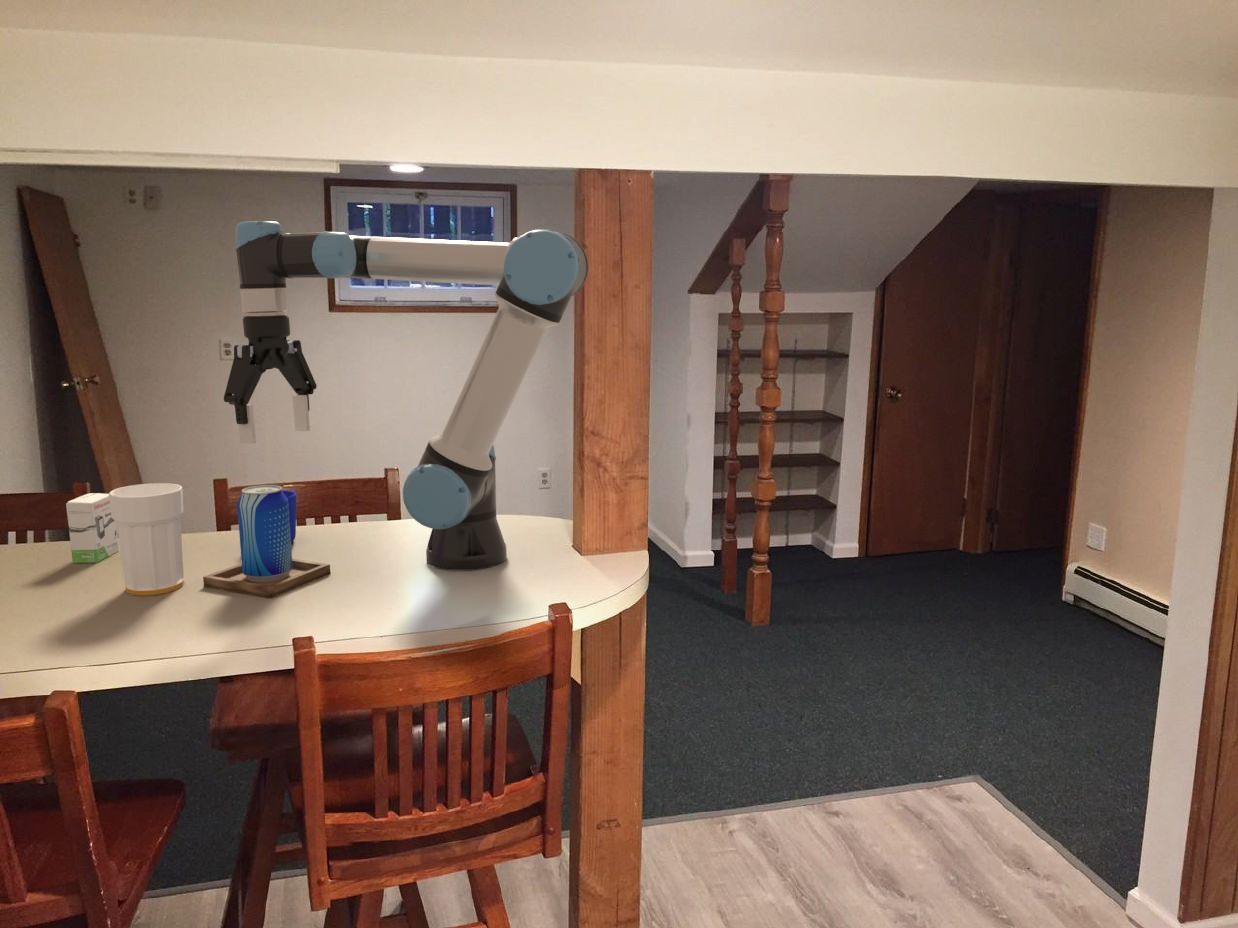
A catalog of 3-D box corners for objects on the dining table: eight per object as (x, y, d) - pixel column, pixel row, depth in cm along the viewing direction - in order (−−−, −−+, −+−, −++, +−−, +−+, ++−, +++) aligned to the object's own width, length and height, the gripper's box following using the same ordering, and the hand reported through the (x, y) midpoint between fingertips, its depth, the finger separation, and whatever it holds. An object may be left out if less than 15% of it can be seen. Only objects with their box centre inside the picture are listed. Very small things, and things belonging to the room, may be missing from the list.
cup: (107, 588, 169) (97, 490, 166) (171, 573, 177) (163, 480, 174) (137, 602, 162) (127, 500, 158) (202, 586, 170) (194, 488, 167)
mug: (313, 533, 205) (310, 486, 203) (288, 548, 193) (285, 499, 191) (276, 532, 206) (272, 485, 204) (249, 547, 194) (245, 498, 192)
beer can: (271, 586, 168) (265, 495, 165) (232, 581, 171) (225, 492, 168) (302, 572, 176) (297, 485, 173) (264, 567, 179) (258, 482, 176)
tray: (330, 573, 177) (329, 564, 177) (269, 598, 164) (269, 588, 163) (267, 563, 183) (266, 554, 183) (203, 586, 170) (203, 576, 170)
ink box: (97, 563, 184) (91, 502, 182) (71, 563, 184) (64, 502, 182) (120, 550, 192) (114, 492, 190) (95, 550, 192) (89, 492, 190)
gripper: (297, 311, 180) (307, 425, 184) (192, 317, 157) (205, 447, 161) (330, 311, 177) (339, 426, 181) (228, 317, 155) (240, 449, 159)
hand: (276, 436), depth 171 cm, fingers open, 13 cm apart
